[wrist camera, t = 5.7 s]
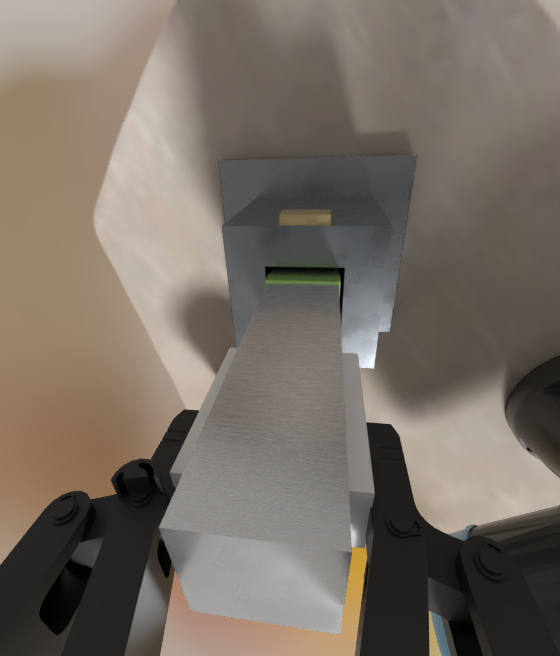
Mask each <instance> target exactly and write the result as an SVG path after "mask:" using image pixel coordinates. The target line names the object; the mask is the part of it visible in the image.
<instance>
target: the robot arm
mask: <svg viewBox="0 0 560 656" xmlns="http://www.w3.org/2000/svg"><path fill="white" fill-rule="evenodd" d="M237 349H238V348H234V347H230V348H229V350H228V352H227V354H226V356H225V359H224V361H223V363H222V365H221V367H220V369H219V371H218V373H217V375H216V377H215V379H214V381H213V383H212V386H211V388H210V390H209V392H208V394H207V396H206V398H205V400H204V402H203V404H202V406H201V408H200V410H199V411H198V410H183V411H182V412H181V413H180V414H178V415H177V416H176V417H175V418H174V419H173V421H172V423H171V424H170V426H169V428H168V431H167V432H166V433H165V435H164V437H163V439H162V441H161V442H160V444H159V446H158V448H157V449H156V451H155V453H154V455H153V457H152V458H151V460H149V459H138V460H134V461H131V462H129V463H127V464H125V465H123V466H122V467H121V468H120V469H119V470H118V471H117V472H116V473H115V474H114V476H113V477H112V479H111V481H112V483H113V486H114V488H115V490H116V493H117V494H115V495H111V496H106V497H101V498H96V499H90V498H89V496H88V494H87V493H85V492H82V491H72V492H69V493H66V494H64V495H61V496H60V497H59V498H57V499H55V500H54V501H52V503H50V504H49V505H48V506H47V508H46V509H45V510H44V511H43V512H42V513H41V515H40V516H39V517H38V519H37V520H36V521H35V522H34V523H33V525H32V526H31V527H30V528H29V530H28V531H27V532H26V534H25V535H24V536H23V537H22V539H21V540H20V541H19V542H18V544H17V545H16V546H15V547H14V549H13V550H12V551H11V552H10V554H9V555H8V556H7V557H6V559H5V560H4V561H3V563H2V564H1V565H0V656H160V652H161V647H162V641H163V635H164V629H165V624H166V618H167V612H168V606H169V601H170V594H171V589H172V584H173V578H174V572H175V569H174V566H173V563H172V561H171V558H170V556H169V553H168V550H167V548H166V545H165V543H164V540H163V537H162V535H161V532H160V530H159V526H160V524H161V522H162V519H163V517H164V515H165V513H166V510H167V508H168V506H169V504H170V501H171V499H172V497H173V494H174V492H175V490H176V488H177V485H178V483H179V481H180V479H181V476H182V474H183V472H184V470H185V467H186V465H187V463H188V460H189V458H190V456H191V454H192V451H193V449H194V447H195V445H196V442H197V440H198V438H199V436H200V433H201V431H202V429H203V426H204V424H205V422H206V420H207V417H208V415H209V413H210V411H211V408H212V406H213V404H214V402H215V399H216V397H217V395H218V392H219V390H220V388H221V386H222V383H223V381H224V379H225V377H226V374H227V372H228V370H229V367H230V365H231V363H232V361H233V358H234V356H235V354H236V352H237ZM342 360H343V380H344V401H345V421H346V441H347V462H348V482H349V502H350V523H351V543H352V547H359V548H365V544H366V547H367V563H366V568H365V574H364V585H363V594H362V602H361V610H360V618H359V626H358V634H357V642H356V651H355V656H429V611H430V612H431V617H432V622H433V626H434V630H435V634H436V638H437V642H438V645H439V649H440V652H441V655H442V656H560V506H556V507H551V508H547V509H543V510H539V511H535V512H531V513H527V514H523V515H519V516H515V517H511V518H507V519H503V520H499V521H495V522H491V523H487V524H483V525H479V526H477V525H469V526H467V527H466V529H464V530H461V531H458V532H454V533H451V534H446V533H444V532H441V531H440V530H438V529H436V528H434V527H433V526H431V525H430V524H429V523H428V522H426V520H425V519H424V518H423V517H422V516H421V515H420V513H419V511H418V510H417V508H416V505H415V502H414V499H413V494H412V490H411V485H410V481H409V476H408V472H407V468H406V463H405V459H404V454H403V451H402V445H401V441H400V437H399V435H398V433H397V432H396V431H395V429H394V428H393V427H392V425H391V424H381V423H367V422H366V417H365V409H364V400H363V392H362V384H361V375H360V367H359V359H358V353H342ZM506 418H507V422H508V425H509V427H510V428H511V430H512V432H513V433H514V435H515V437H516V438H517V440H518V441H519V443H520V444H521V445H522V446H523V447H524V448H525V449H526V450H527V451H528V452H529V453H530V454H532V455H533V456H534V457H536V458H538V459H540V460H541V461H542V462H543V463H544V464H545V465H546V466H547V467H548V468H549V469H550V470H551V471H552V472H553V473H555V474H556V475H557V476H558V477H559V478H560V357H557V358H555V359H553V360H551V361H549V362H547V363H545V364H543V365H542V366H540V367H538V368H537V369H535V370H534V371H533V372H531V373H530V374H529V375H527V376H526V377H525V378H524V379H523V380H522V381H521V382H520V383H519V384H518V385H517V387H516V388H515V389H514V391H513V392H512V394H511V396H510V398H509V400H508V403H507V408H506Z"/></svg>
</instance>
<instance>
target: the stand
mask: <svg viewBox="0 0 560 656" xmlns="http://www.w3.org/2000/svg"><path fill="white" fill-rule="evenodd" d="M416 159H417V155H414V154H404V155H370V156H336V157H302V158H268V159H234V160H220V161H218V163H219V172H220V181H221V190H222V198H223V207H224V216H225V224H224V225H223V226H222V232H223V240H224V249H225V257H226V266H227V274H228V283H229V291H230V300H231V308H232V316H233V325H234V333H235V342H236V348H238V347H239V345H240V343H241V340H242V338H243V336H244V333H245V331H246V329H247V327H248V324H249V322H250V320H251V318H252V315H253V313H254V311H255V309H256V306H257V304H258V302H259V299H260V297H261V295H262V293H263V290H264V288H265V286H266V278H267V276H268V274H269V273H271V272H272V270H273V268H274V267H338V274H340V281H341V283H340V319H341V340H342V353H358V359H359V367H360V368H374V363H375V356H376V349H377V341H378V334H379V332H390V326H391V320H392V314H393V307H394V301H395V294H396V288H397V281H398V275H399V268H400V262H401V256H402V249H403V243H404V236H405V230H406V223H407V217H408V210H409V204H410V198H411V191H412V185H413V178H414V172H415V165H416Z"/></svg>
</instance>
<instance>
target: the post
mask: <svg viewBox="0 0 560 656" xmlns="http://www.w3.org/2000/svg"><path fill="white" fill-rule="evenodd" d="M340 283H341V281H340V274H338V267H274V268H273V270H272V272H271V273H269V274H268V276H267V278H266V286H265V288H264V290H263V293H262V295H261V297H260V299H259V302H258V304H257V306H256V309H255V311H254V313H253V315H252V318H251V320H250V322H249V324H248V327H247V329H246V331H245V333H244V336H243V338H242V340H241V343H240V345H239V347H238V349H237V352H236V354H235V356H234V358H233V361H232V363H231V365H230V367H229V370H228V372H227V374H226V377H225V379H224V381H223V383H222V386H221V388H220V390H219V392H218V395H217V397H216V399H215V402H214V404H213V406H212V408H211V411H210V413H209V415H208V417H207V420H206V422H205V424H204V426H203V429H202V431H201V433H200V436H199V438H198V440H197V442H196V445H195V447H194V449H193V451H192V454H191V456H190V458H189V460H188V463H187V465H186V467H185V470H184V472H183V474H182V476H181V479H180V481H179V483H178V485H177V488H176V490H175V492H174V494H173V497H172V499H171V501H170V504H169V506H168V508H167V510H166V513H165V515H164V517H163V519H162V522H161V524H160V526H159V530H160V532H161V535H162V537H163V540H164V543H165V545H166V548H167V550H168V553H169V556H170V558H171V561H172V563H173V566H174V569H175V571H176V574H177V576H178V579H179V582H180V584H181V587H182V589H183V592H184V595H185V597H186V600H187V603H188V605H189V608H190V610H191V611H196V612H202V613H208V614H214V615H221V616H227V617H233V618H240V619H246V620H252V621H258V622H265V623H271V624H277V625H283V626H290V627H296V628H303V629H308V630H315V631H321V632H328V633H333V634H340V630H341V624H342V617H343V610H344V604H345V597H346V589H347V583H348V576H349V569H350V562H351V555H352V543H351V523H350V502H349V482H348V462H347V441H346V421H345V401H344V380H343V360H342V340H341V319H340Z"/></svg>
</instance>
